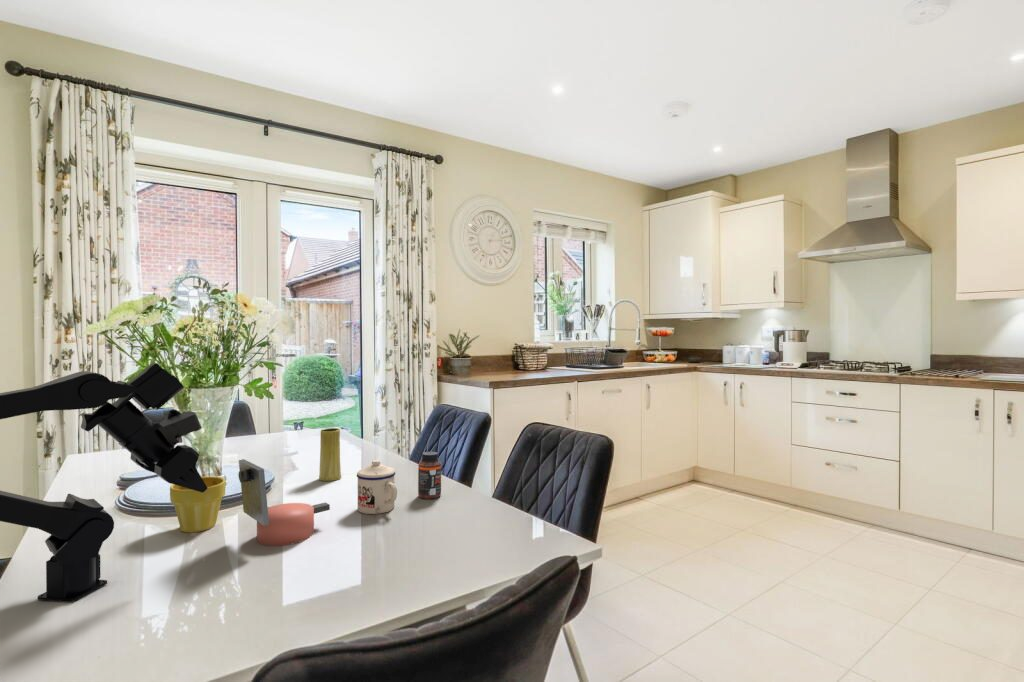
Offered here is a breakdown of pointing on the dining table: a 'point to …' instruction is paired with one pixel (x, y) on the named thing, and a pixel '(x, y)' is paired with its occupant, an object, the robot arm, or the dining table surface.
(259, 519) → the lid
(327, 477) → the vase
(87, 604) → the dining table surface
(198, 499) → the plant pot
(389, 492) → the teacup with lid
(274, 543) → the cooker pot
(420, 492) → the supplement bottle
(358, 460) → the dining table surface
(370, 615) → the dining table surface
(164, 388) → the robot arm
